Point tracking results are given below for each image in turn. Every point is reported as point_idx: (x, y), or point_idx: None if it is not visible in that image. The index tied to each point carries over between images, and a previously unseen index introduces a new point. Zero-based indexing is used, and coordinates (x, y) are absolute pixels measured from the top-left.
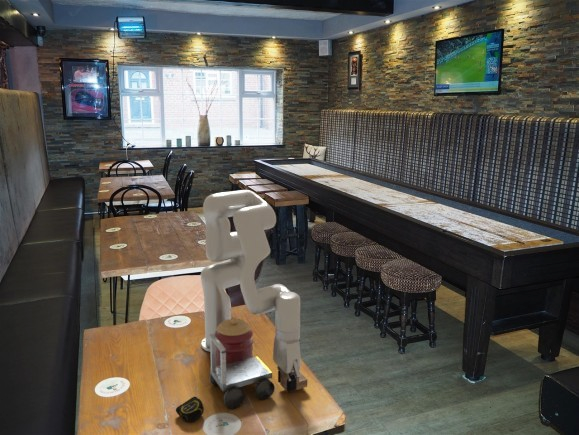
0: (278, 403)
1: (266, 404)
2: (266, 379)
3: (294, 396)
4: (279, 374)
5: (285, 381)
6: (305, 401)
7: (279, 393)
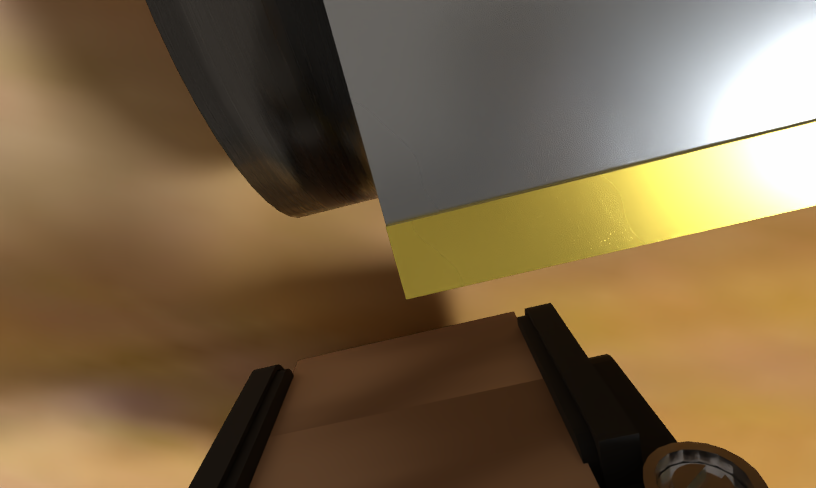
0: (203, 199)
1: None
2: (289, 37)
3: None
4: (562, 406)
5: (338, 442)
6: None
7: None
